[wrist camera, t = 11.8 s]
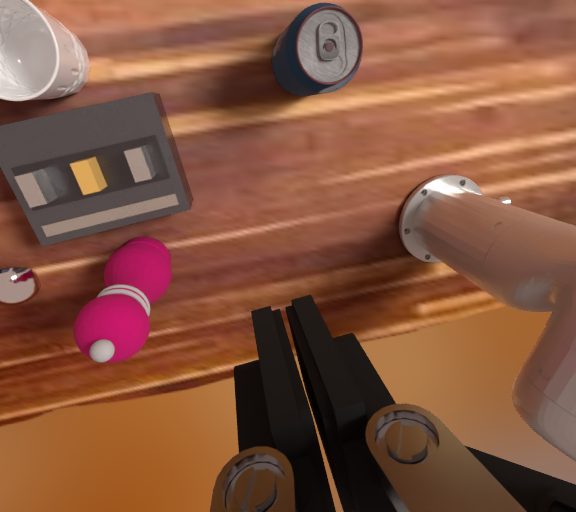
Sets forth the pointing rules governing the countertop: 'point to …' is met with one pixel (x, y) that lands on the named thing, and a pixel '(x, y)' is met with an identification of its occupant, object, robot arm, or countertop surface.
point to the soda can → (318, 51)
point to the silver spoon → (18, 285)
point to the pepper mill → (124, 301)
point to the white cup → (38, 55)
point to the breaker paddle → (88, 175)
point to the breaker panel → (112, 161)
